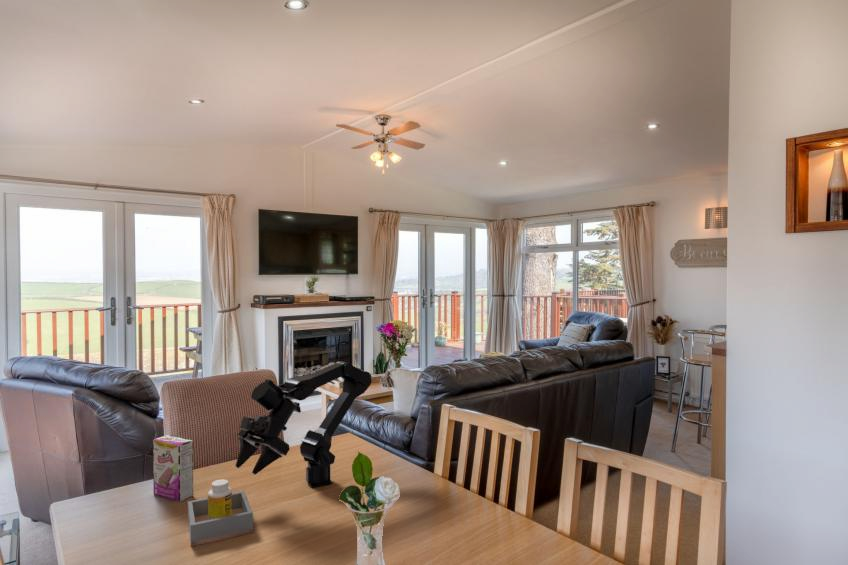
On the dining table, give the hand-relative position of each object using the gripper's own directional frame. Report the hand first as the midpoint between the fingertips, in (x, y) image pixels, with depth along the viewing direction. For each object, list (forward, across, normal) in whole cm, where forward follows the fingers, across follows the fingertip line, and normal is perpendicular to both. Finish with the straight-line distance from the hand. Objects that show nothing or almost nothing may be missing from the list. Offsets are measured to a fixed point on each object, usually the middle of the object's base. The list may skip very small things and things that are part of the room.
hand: (245, 470), depth 136 cm
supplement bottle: (+13, +1, +1) cm, 13 cm away
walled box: (+14, +1, +2) cm, 14 cm away
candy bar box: (+13, -26, -1) cm, 29 cm away
